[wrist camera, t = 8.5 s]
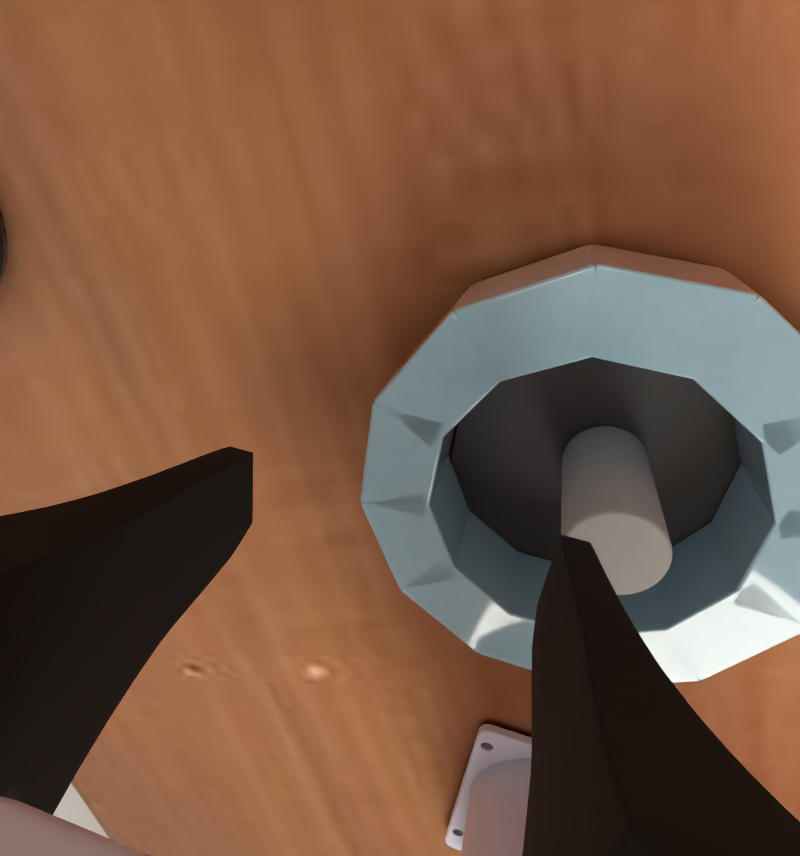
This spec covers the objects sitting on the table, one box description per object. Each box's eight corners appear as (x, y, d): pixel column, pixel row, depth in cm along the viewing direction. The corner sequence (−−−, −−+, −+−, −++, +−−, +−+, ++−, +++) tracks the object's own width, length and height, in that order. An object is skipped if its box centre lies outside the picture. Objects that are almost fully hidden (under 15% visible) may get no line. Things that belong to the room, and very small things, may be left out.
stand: (697, 591, 19) (742, 740, 14) (439, 521, 20) (401, 634, 16) (827, 340, 15) (954, 429, 10) (490, 275, 16) (459, 326, 11)
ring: (712, 655, 19) (737, 736, 16) (372, 554, 21) (344, 612, 18) (922, 304, 13) (1011, 342, 10) (424, 212, 15) (395, 224, 12)
